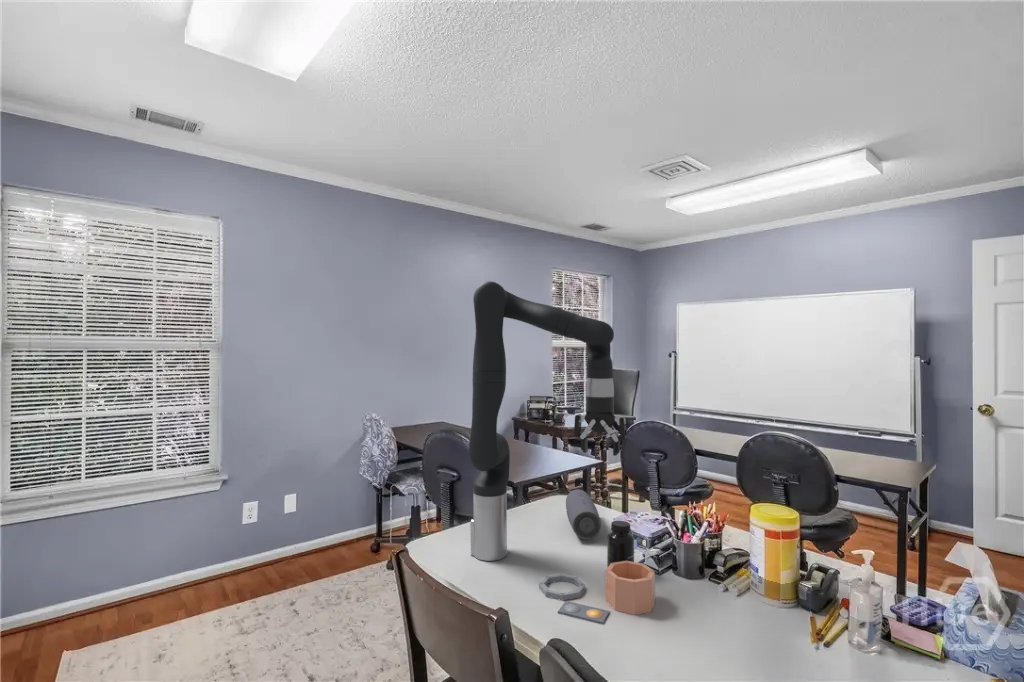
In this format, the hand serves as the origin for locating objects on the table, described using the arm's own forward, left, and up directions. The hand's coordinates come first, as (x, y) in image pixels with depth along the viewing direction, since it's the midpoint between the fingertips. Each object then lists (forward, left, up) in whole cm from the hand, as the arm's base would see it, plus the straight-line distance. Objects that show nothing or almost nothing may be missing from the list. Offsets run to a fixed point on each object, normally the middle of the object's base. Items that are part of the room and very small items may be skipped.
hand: (600, 453), depth 139 cm
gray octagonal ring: (-3, -22, -28) cm, 36 cm away
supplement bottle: (+7, -6, -28) cm, 30 cm away
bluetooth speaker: (-11, +17, -28) cm, 35 cm away
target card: (+5, -30, -28) cm, 41 cm away
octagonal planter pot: (+13, -21, -28) cm, 37 cm away
